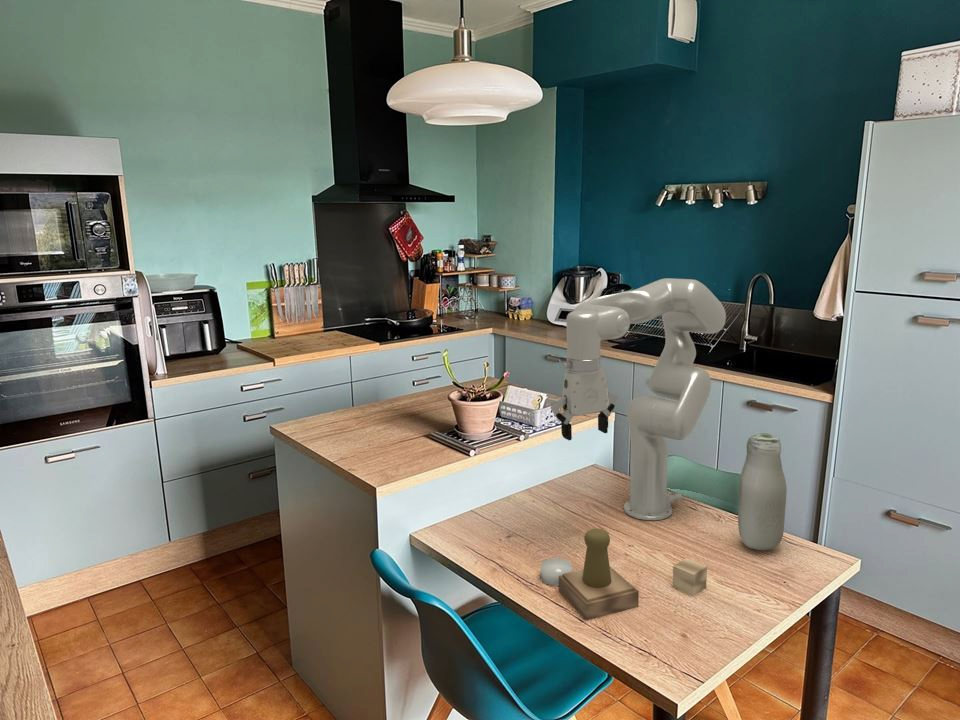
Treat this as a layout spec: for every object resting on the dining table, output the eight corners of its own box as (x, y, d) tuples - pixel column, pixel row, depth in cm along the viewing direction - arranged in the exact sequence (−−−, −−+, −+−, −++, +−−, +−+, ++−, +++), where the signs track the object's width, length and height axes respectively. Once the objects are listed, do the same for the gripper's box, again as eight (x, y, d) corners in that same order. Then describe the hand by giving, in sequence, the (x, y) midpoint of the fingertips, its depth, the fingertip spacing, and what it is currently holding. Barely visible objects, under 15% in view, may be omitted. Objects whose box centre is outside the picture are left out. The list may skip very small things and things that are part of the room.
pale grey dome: (563, 567, 157) (563, 555, 156) (578, 582, 150) (578, 570, 150) (535, 574, 154) (535, 562, 154) (549, 589, 148) (549, 576, 147)
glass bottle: (766, 535, 168) (772, 426, 163) (790, 555, 159) (798, 439, 153) (728, 539, 167) (733, 429, 161) (750, 559, 157) (756, 443, 151)
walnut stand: (607, 578, 151) (607, 561, 150) (638, 606, 140) (638, 588, 139) (558, 590, 147) (558, 573, 146) (586, 620, 136) (586, 601, 135)
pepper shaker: (577, 583, 142) (577, 534, 140) (588, 570, 147) (588, 522, 145) (605, 590, 139) (606, 540, 137) (615, 576, 144) (616, 528, 142)
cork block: (685, 578, 150) (686, 557, 149) (706, 587, 146) (707, 566, 145) (672, 587, 147) (673, 566, 146) (693, 596, 143) (693, 574, 142)
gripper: (558, 372, 151) (560, 446, 155) (625, 362, 158) (625, 433, 161) (542, 366, 158) (545, 436, 162) (607, 356, 164) (607, 424, 168)
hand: (585, 435), depth 162 cm, fingers open, 9 cm apart
